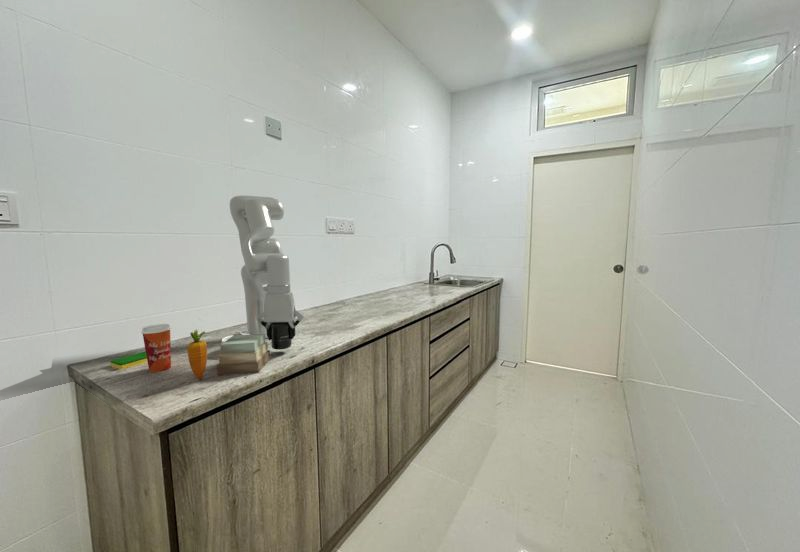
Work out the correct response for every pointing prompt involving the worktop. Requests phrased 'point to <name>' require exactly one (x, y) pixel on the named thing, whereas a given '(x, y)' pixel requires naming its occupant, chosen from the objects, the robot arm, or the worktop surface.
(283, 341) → the supplement bottle
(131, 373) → the worktop surface
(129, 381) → the worktop surface
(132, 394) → the worktop surface
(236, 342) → the layered stepped block
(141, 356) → the dish sponge
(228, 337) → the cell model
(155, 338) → the paper cup
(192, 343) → the carrot
